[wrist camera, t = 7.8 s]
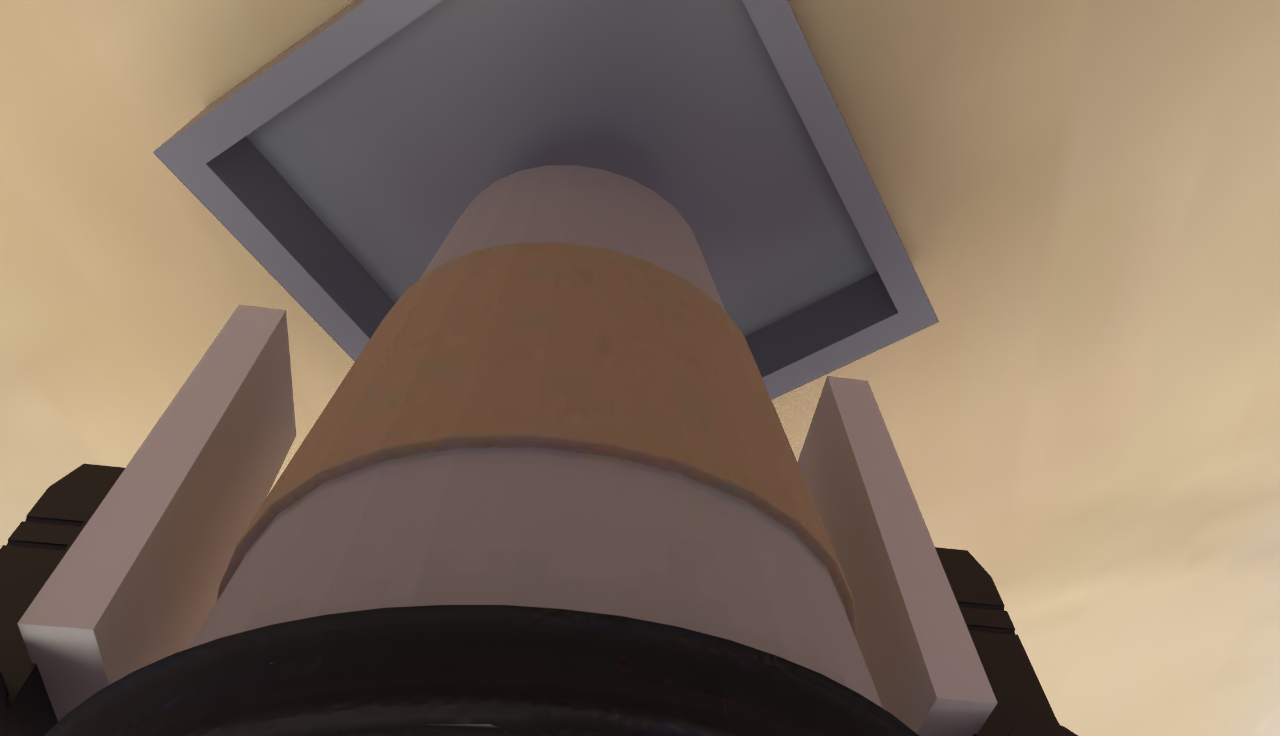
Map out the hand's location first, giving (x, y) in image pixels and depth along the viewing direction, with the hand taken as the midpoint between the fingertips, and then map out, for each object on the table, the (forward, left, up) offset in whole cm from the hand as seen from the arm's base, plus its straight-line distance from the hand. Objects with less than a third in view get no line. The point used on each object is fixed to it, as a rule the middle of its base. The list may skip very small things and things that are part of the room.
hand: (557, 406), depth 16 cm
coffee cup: (0, 0, -5) cm, 5 cm away
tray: (0, 0, -9) cm, 9 cm away
